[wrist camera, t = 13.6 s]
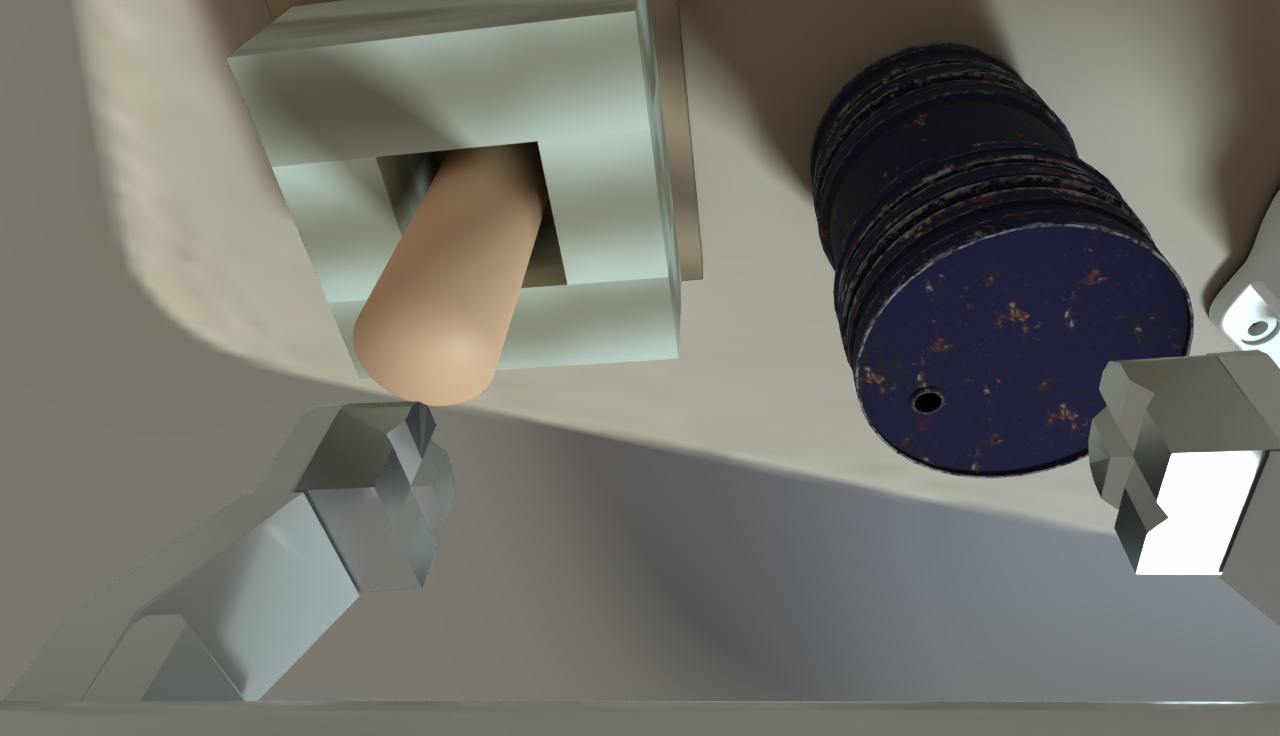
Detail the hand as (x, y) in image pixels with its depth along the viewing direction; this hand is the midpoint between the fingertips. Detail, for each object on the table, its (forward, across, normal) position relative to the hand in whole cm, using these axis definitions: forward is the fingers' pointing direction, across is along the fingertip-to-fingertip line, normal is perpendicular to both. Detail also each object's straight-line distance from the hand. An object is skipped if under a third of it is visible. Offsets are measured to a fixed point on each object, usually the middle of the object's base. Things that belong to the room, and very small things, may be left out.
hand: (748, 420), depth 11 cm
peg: (+26, +11, +7) cm, 29 cm away
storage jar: (+29, -7, +10) cm, 31 cm away
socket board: (+28, +11, +2) cm, 30 cm away
